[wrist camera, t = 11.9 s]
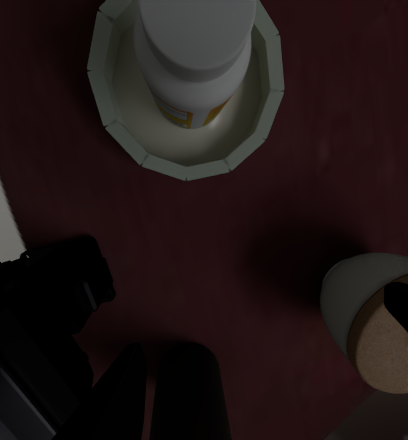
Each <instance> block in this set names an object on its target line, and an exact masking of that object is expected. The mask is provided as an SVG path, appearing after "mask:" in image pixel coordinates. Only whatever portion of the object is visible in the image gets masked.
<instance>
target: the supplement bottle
mask: <svg viewBox="0 0 408 440" xmlns="http://www.w3.org/2000/svg"><path fill="white" fill-rule="evenodd" d="M255 13H256V0H138V10H137V13H136V17H135V23H134V48H135V54H136V58H137V61H138V64H139V67H140V70H141V72H142V75H143V77H144V79H145V81H146V83H147V85H148V88H149V90H150V92H151V94H152V96H153V98H154V101H155V103H156V105H157V107H158V108H159V110H160V112H161V113H162V114H163V116H164V117H165V118H166V119H167V120H168V121H169V122H171V123H172V124H174V125H176V126H178V127H181V128H184V129H197V128H201V127H204V126H206V125H207V124H209V123H210V122H211V121H213V120H214V119H215V118H216V117H217V115H218V114H219V113H220V111H221V110H222V109H223V107H224V106H225V105H226V103H227V102H228V101H229V99H230V98H231V97H232V96H233V94H234V93H235V91H236V90H237V88H238V87H239V85H240V83H241V81H242V80H243V78H244V76H245V73H246V71H247V68H248V64H249V60H250V55H251V30H252V27H253V24H254V19H255Z"/></svg>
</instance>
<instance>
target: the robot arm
mask: <svg viewBox="0 0 408 440" xmlns="http://www.w3.org/2000/svg"><path fill="white" fill-rule="evenodd" d="M88 241H90V242H92V245H90V244H89V243H88ZM26 255H28V256H29V258H27V256H26ZM112 283H113V279H112V276H111V273H110V271H109V268H108V265H107V262H106V259H105V258H103V257H102V255H101V252H100V249H99V246H98V244H97V241H96V239H95V238H93V237H87V238H83V239H78V240H73V241H69V242H64V243H60V244H55V245H50V246H46V247H41V248H37V249H32V250H27V251H25V252H23V253H22V254H21V255H20V258H19V259H17V260H14V261H6V262H3V263H1V262H0V440H141V438H142V431H143V423H144V411H145V393H146V375H147V362H146V358H145V355H144V353H143V350H142V347H141V345H140V343H133V344H129V345H127V346H126V347H125V348H124V350H123V351H122V352H121V353H120V355H119V356H118V357H117V358H116V359H115V361H114V362H113V363H112V364H111V366H110V367H109V368H108V369H107V371H106V372H105V373H104V374H103V376H102V377H101V378H100V379H99V381H98V382H97V383H96V384H95V386H94V387H93V388H92V383H93V376H94V374H93V371H92V368H91V365H90V364H89V362H88V356H87V354H86V353H85V352H82V350H81V349H80V347H79V346H78V344H77V343H76V341H75V340H74V338H73V337H72V334H76V333H79V332H80V331H81V330H82V328H83V327H84V325H85V323H86V322H87V320H88V318H89V317H90V315H91V313H92V312H95V311H96V310H97V309H98V307H99V305H100V304H101V303H104V302H109V301H112V300H113V299H114V298H115V295H116V293H115V290H114V287H113V285H112ZM108 294H110V295H111V296H108ZM384 306H385V308H386V309H387V311H388V312H389V313H390V314H391V315H392V316H393V317H394V318H395V319H396V320H397V322H398V323H399V324H400V325H401V326H402V327H403V328H404V329H405V330H406V331H407V332H408V284H406V283H402V282H392V283H388V284H386V285H385V287H384Z"/></svg>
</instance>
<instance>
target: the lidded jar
mask: <svg viewBox="0 0 408 440" xmlns="http://www.w3.org/2000/svg"><path fill="white" fill-rule="evenodd" d="M392 282H402V283H406V284H408V257H406V256H401V255H396V254H390V253H367V254H360V255H357V256H354V257H351V258H348V259H344V260H342V261H340V262H338V263H336V264H335V265H334V266H333V267H331V268H330V270H329V271H328V272H327V273H326V275H325V277H324V279H323V282H322V287H321V294H320V309H321V314H322V317H323V320H324V323H325V325H326V327H327V329H328V331H329V333H330V334H331V336H332V338H333V339H334V341H335V342H336V344H337V346H338V347H339V348H340V350H341V351H342V352H343V354H344V355H345V356H346V357H347V358H348V360H349V361H350V363H351V364H352V366H353V368H354V369H355V370H356V372H357V373H358V374H359V375H360V377H361V378H362V379H363V380H364V381H365V382H366V383H367V384H369V385H370V386H372V387H374V388H376V389H379V390H381V391H384V392H389V393H408V332H407V331H406V330H405V329H404V328H403V327H402V326H401V325H400V324H399V323H398V322H397V320H396V319H395V318H394V317H393V316H392V315H391V314H390V313H389V312H388V311H387V309H386V308H385V306H384V287H385V285H386V284H388V283H392Z"/></svg>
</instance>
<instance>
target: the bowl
mask: <svg viewBox="0 0 408 440" xmlns="http://www.w3.org/2000/svg"><path fill="white" fill-rule="evenodd" d="M99 10H100V11H101V12H98V11H97V16H96V22H95V27H94V32H93V38H92V43H91V49H90V54H89V60H88V65H87V70H88V71H89V72H87V74H88V77H89V80H90V84H91V87H92V90H93V93H94V97H95V100H96V103H97V107H98V110H99V113H100V116H101V120H102V123H103V126H105V127H106V128H105V129H106V130H107V131H108V132H109V133H110V134H111V135H112V136H113V138H114V139H115V140H116V141H117V142H118V143H119V144H120V145H121V146H122V147H123V148H124V149H125V150H126V151H127V152H128V153H129V154H130V155H131V156H132V158H133V159H134V160H135V161H136V162H137V163H138V164H139V165H142V167H145V168H148V169H151V170H154V171H157V172H160V173H163V174H166V175H169V176H172V177H175V178H178V179H181V180H184V181H185V179H186V177H187V181H189V180H194V179H199V178H203V177H208V176H213V175H218V174H222V173H227V172H229V171H232V170H233V169H234V168H235V167H236V166H238V165H239V164H240V163H241V162H242V161H243V160H244V159H245V158H246V157H248V156H249V155H250V154H251V153H252V152H253V151H254V150H255V149H257V148H258V147H259V146H260V145H261V144H262V143H263V142H264V141H265V140H264V139H267V136H268V133H269V131H270V128H271V125H272V123H273V120H274V118H275V115H276V112H277V110H278V107H279V104H280V102H281V99H282V97H283V94H284V92H282V91H283V90H284V79H283V67H282V55H281V43H280V35H279V36H277V34H278V33H279V32H278V30H277V29H276V27H275V25H274V24H273V22H272V20H271V19H270V17H269V15H268V14H267V12H266V11H265V9H264V7H263V6H262V4H261V2H260V1H259V0H256V13H255V19H254V24H253V27H252V30H251V55H250V60H249V64H248V68H247V71H246V73H245V76H244V78H243V80H242V81H241V83H240V85H239V87H238V88H237V90H236V91H235V93H234V94H233V96H232V97H231V98H230V99H229V101H228V102H227V103H226V105H225V106H224V107H223V109H222V110H221V111H220V113H219V114H218V115H217V117H216V118H215V119H214V120H213V121H211V122H210V123H209V124H207V125H206V126H204V127H201V128H197V129H184V128H181V127H178V126H176V125H174V124H172V123H171V122H169V121H168V120H167V119H166V118H165V117H164V116H163V114H162V113H161V112H160V110H159V108H158V107H157V105H156V103H155V101H154V98H153V96H152V94H151V92H150V90H149V88H148V85H147V83H146V81H145V79H144V77H143V75H142V72H141V70H140V67H139V64H138V61H137V58H136V54H135V48H134V23H135V17H136V13H137V10H138V0H106V1H105V2H104V3H103V4H102V5H101V6H100V7H99Z"/></svg>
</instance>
